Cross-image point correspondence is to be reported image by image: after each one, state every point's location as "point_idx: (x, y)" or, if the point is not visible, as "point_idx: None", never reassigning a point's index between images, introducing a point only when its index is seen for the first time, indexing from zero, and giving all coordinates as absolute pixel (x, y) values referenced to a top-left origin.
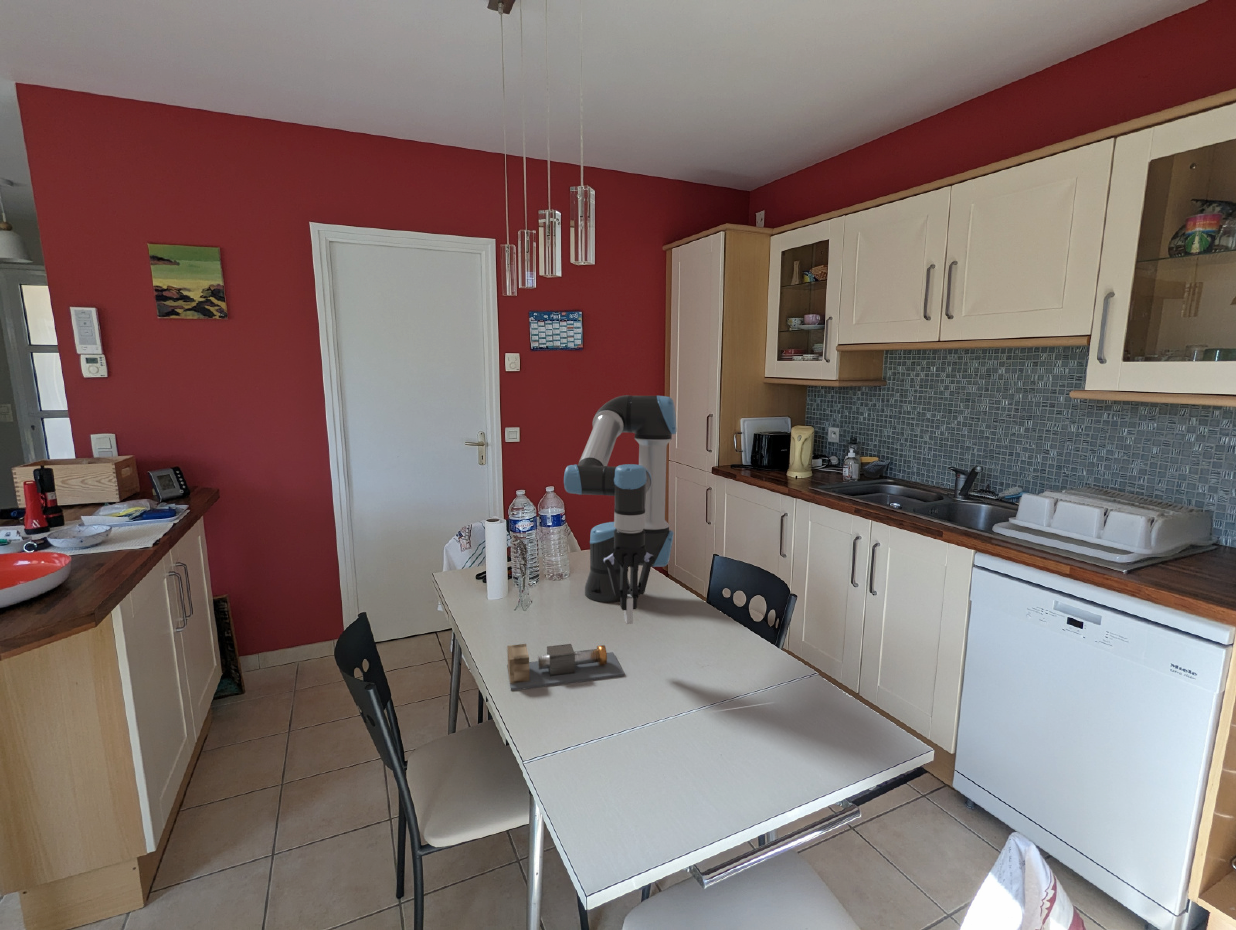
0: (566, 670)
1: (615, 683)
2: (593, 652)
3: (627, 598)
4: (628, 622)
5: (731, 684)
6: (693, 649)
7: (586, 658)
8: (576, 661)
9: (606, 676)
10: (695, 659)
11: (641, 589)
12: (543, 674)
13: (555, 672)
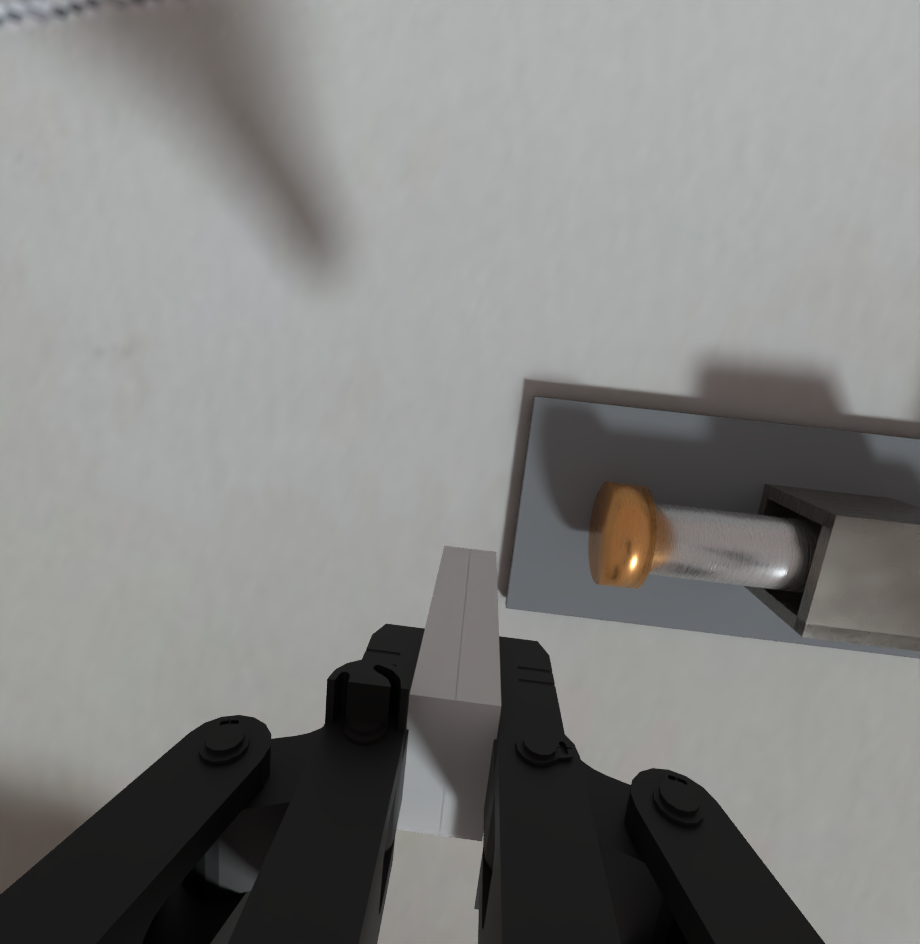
0: (822, 494)
1: (598, 351)
2: (685, 533)
3: (493, 714)
4: (481, 555)
5: (50, 134)
6: (114, 516)
7: (724, 515)
8: (776, 518)
9: (626, 407)
10: (138, 425)
11: (212, 789)
12: None
13: (877, 500)
